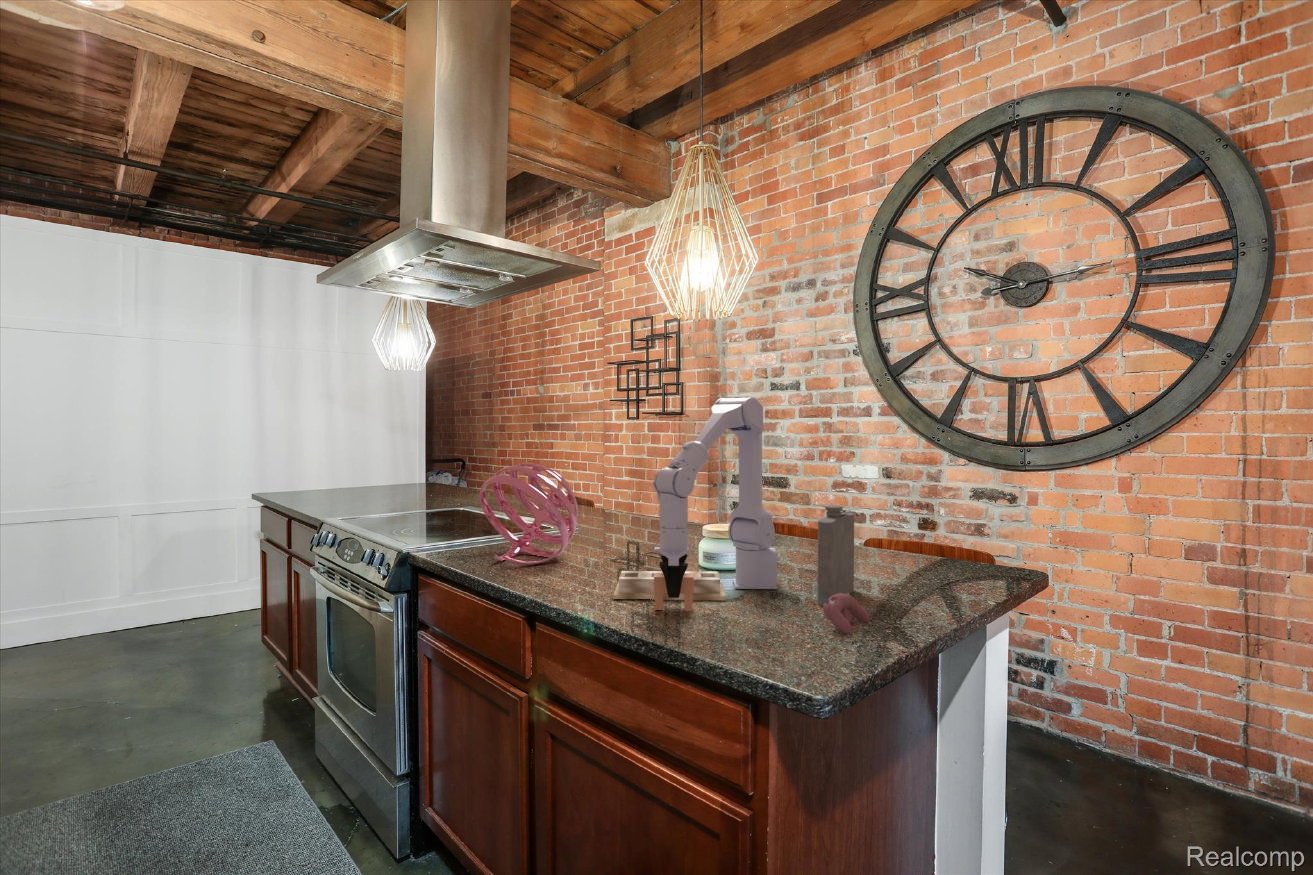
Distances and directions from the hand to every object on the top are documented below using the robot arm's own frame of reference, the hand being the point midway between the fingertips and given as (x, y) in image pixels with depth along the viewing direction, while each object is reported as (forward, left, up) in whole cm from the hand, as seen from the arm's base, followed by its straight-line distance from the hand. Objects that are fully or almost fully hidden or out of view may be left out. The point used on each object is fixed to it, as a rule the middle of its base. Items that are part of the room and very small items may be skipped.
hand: (673, 592), depth 130 cm
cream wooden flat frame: (+1, -12, -3) cm, 13 cm away
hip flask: (-35, -10, -4) cm, 37 cm away
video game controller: (-32, +9, -4) cm, 34 cm away
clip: (0, 0, -3) cm, 3 cm away
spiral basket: (+39, -44, -4) cm, 59 cm away
